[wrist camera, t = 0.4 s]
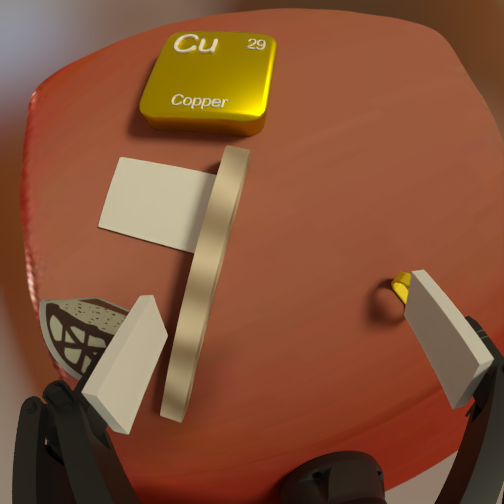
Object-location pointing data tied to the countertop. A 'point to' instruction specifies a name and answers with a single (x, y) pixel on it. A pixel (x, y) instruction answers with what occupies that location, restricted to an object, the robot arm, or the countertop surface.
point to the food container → (79, 330)
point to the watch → (401, 285)
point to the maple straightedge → (203, 281)
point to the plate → (157, 203)
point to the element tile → (211, 83)
